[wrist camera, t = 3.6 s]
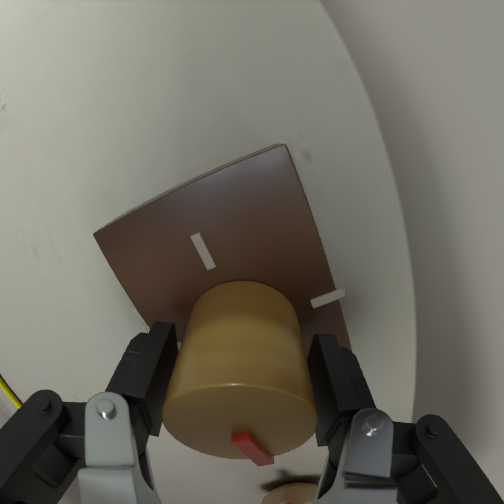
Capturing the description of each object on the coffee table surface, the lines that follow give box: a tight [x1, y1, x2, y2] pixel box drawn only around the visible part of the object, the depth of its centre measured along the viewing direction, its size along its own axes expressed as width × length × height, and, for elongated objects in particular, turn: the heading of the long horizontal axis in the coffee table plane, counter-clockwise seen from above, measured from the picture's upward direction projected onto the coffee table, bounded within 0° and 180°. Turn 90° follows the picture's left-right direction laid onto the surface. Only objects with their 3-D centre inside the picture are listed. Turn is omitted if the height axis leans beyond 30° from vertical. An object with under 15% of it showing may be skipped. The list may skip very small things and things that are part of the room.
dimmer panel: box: [93, 144, 352, 359], centre depth 12 cm, size 12×9×3 cm
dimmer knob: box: [161, 281, 319, 466], centre depth 9 cm, size 4×4×5 cm
